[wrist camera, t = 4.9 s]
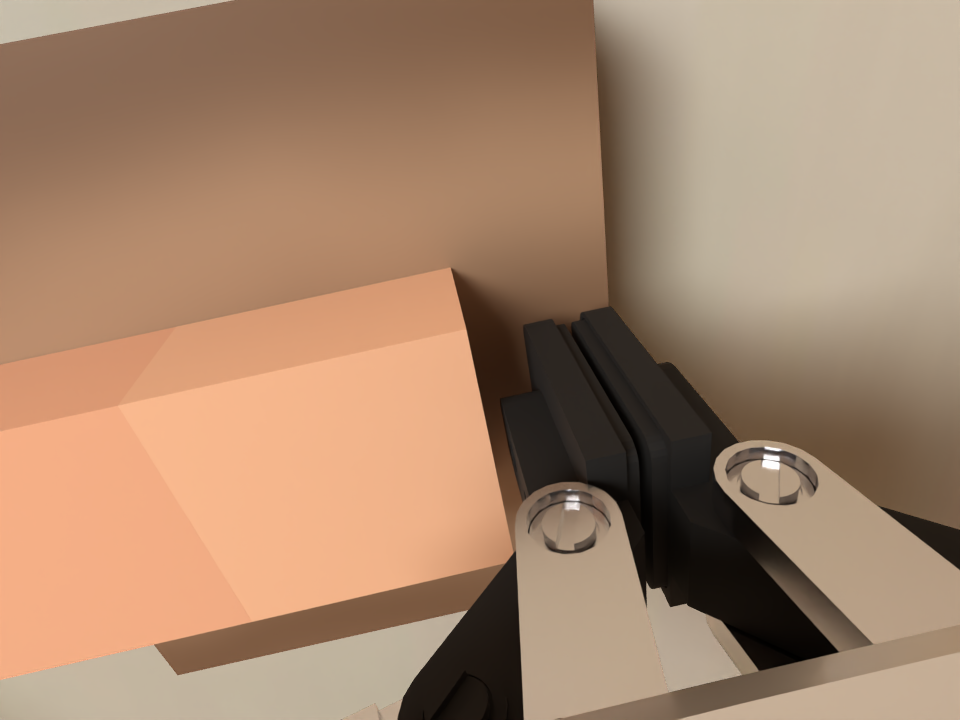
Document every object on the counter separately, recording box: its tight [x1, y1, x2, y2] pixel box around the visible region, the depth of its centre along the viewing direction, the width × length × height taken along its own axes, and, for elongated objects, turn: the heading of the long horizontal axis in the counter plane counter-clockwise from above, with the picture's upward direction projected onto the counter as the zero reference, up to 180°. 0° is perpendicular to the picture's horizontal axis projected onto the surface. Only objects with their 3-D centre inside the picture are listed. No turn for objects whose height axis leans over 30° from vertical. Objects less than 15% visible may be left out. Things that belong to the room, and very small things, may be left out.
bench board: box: [0, 0, 609, 675], centre depth 13 cm, size 14×12×4 cm
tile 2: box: [0, 327, 252, 680], centre depth 10 cm, size 5×5×2 cm
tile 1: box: [118, 267, 513, 622], centre depth 10 cm, size 5×5×2 cm
